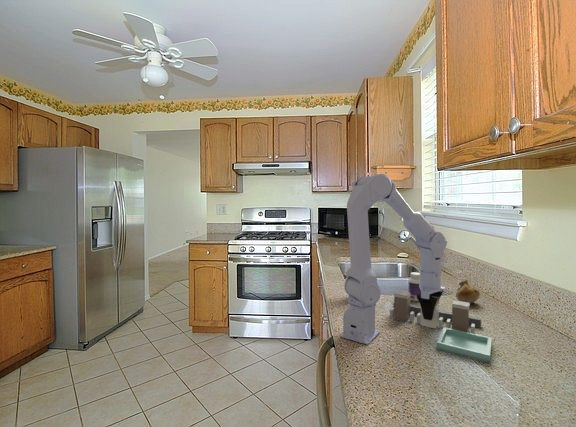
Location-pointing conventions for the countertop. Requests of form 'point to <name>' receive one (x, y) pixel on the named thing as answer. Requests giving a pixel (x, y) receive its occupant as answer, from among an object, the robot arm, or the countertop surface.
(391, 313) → the clip block
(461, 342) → the tray
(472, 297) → the onion
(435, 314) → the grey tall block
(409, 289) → the pill bottle
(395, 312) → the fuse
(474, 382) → the countertop surface
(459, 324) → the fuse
